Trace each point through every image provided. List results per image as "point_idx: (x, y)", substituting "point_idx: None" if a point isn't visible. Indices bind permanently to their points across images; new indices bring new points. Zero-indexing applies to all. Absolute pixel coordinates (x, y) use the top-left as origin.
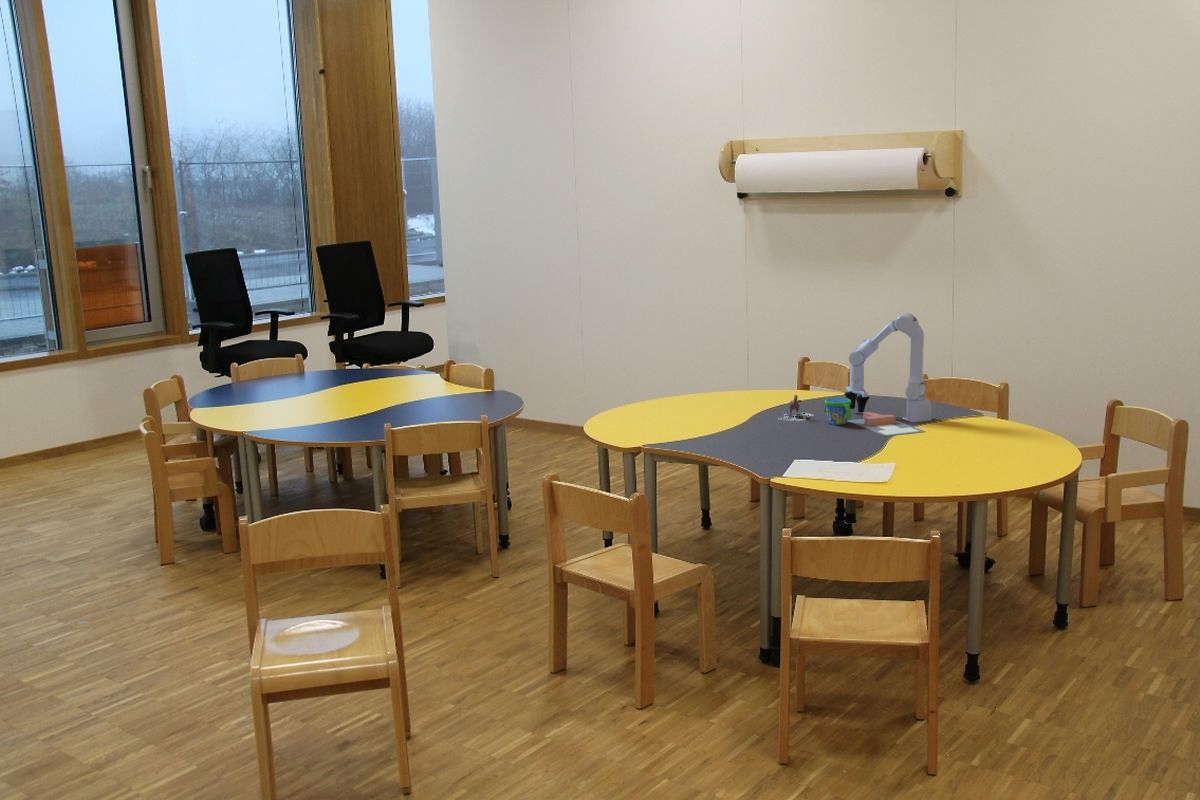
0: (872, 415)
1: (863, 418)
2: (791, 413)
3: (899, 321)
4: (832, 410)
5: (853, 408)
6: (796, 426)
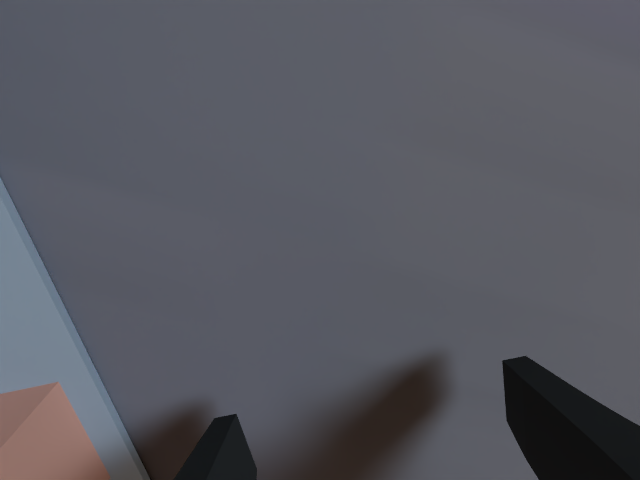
0: None
1: (42, 393)
2: None
3: None
4: None
5: (508, 412)
6: None
